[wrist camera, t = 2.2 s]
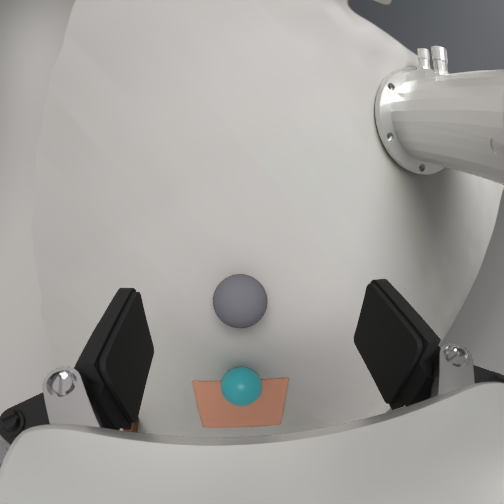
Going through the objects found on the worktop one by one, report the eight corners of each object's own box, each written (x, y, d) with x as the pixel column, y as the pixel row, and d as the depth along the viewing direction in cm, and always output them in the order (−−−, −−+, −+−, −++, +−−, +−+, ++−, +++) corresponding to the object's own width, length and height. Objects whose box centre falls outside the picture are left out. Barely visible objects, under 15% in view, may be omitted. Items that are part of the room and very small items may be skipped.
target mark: (192, 381, 36) (192, 382, 36) (288, 377, 37) (288, 378, 37) (203, 426, 42) (203, 427, 41) (280, 423, 43) (280, 424, 43)
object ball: (219, 359, 35) (219, 390, 29) (260, 357, 35) (265, 388, 30) (221, 384, 37) (222, 414, 32) (259, 382, 37) (263, 412, 32)
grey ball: (212, 265, 29) (209, 293, 24) (264, 264, 29) (272, 291, 24) (215, 308, 31) (213, 339, 26) (263, 306, 32) (269, 337, 27)
